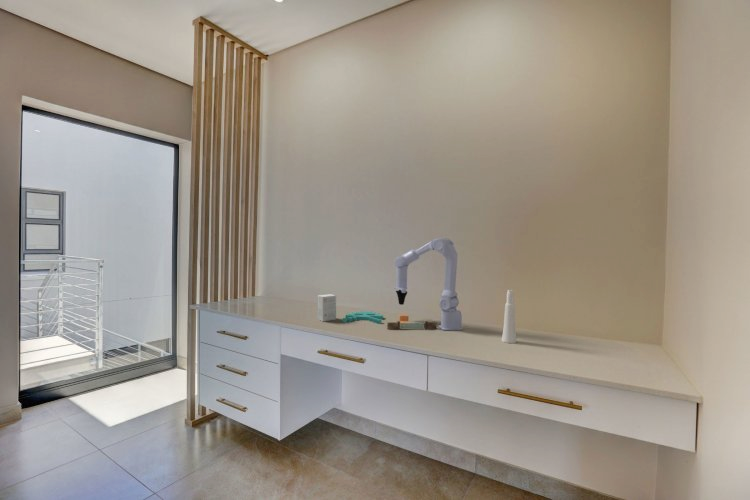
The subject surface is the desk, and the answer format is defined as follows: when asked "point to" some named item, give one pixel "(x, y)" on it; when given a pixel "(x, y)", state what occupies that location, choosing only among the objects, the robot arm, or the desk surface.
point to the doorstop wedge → (403, 318)
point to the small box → (326, 307)
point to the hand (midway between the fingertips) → (401, 304)
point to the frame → (397, 325)
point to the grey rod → (412, 325)
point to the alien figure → (363, 317)
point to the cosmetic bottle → (509, 320)
